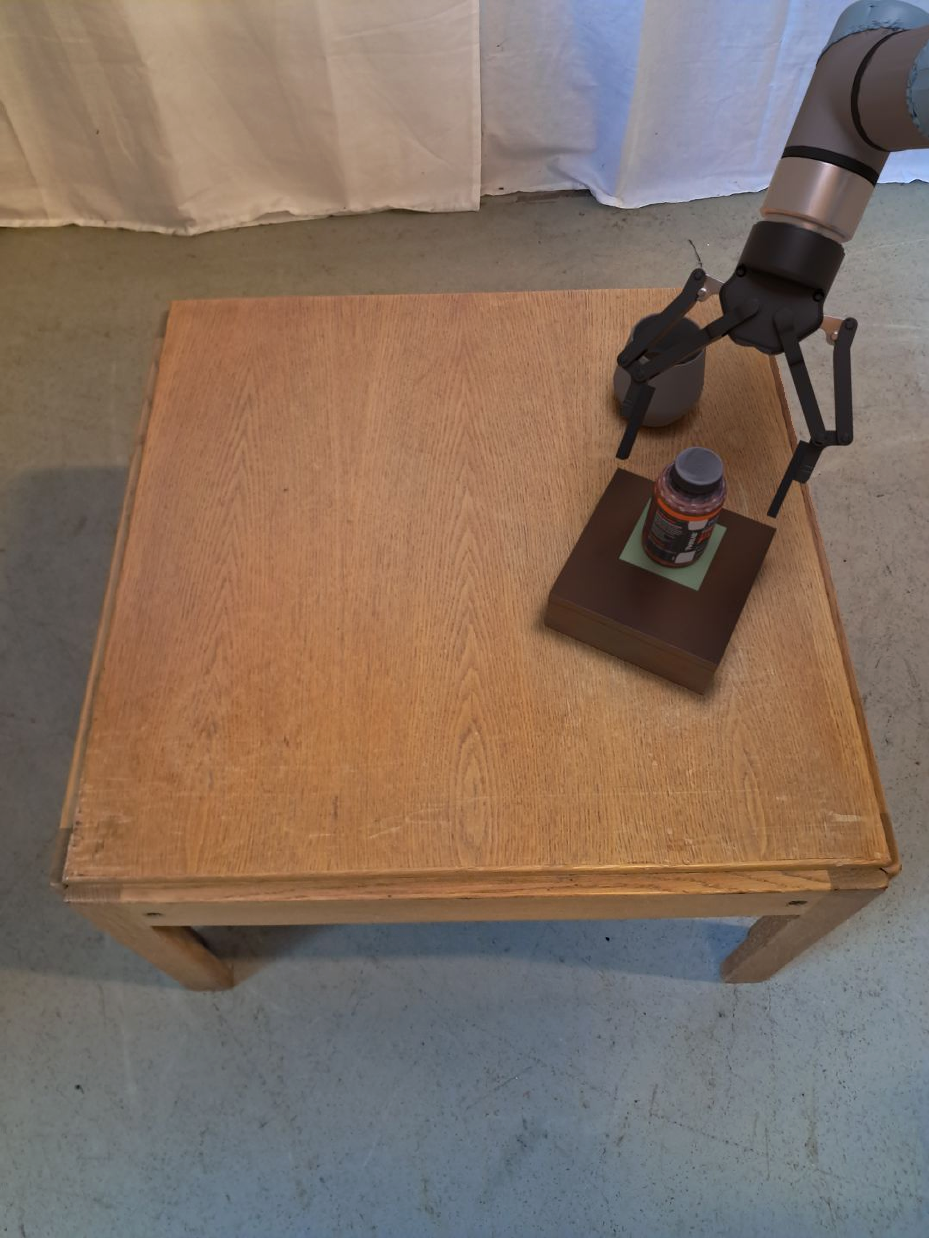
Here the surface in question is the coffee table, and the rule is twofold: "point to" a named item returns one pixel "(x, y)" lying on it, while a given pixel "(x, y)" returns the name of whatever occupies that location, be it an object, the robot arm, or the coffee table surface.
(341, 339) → the coffee table surface
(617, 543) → the dark wooden box
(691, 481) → the supplement bottle
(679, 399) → the cup
